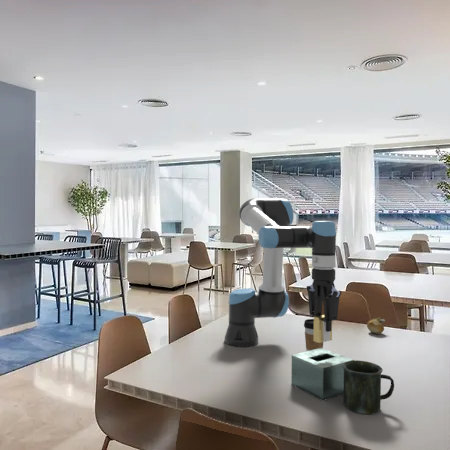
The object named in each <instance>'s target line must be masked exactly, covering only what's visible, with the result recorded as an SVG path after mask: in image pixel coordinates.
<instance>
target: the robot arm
mask: <svg viewBox="0 0 450 450" xmlns="http://www.w3.org/2000/svg"><path fill="white" fill-rule="evenodd" d="M238 217H239V219H240V221H241V222H242V223H243V224H244V225H245V226H246V227H250V228H251V229H252V230H253V231H255V233H256V234H257V235H258V238H257V239H258V243H259V246H260V247H261V248H263V263H262V264H263V266H262V284H260V285H259V287H258V291H256V290H255V289H254V288H249V287H248V288H246V287H245V288H238V289H234V290H232V291H231V292H230V293H229V295H228V326H227V328H226V332H225V335H224V343H225V344H227V345H229V346H233V347H238V348H239V347H240V348H241V347H243V348H244V347H252V346H255V345H257V344H258V343H259V336H258V331H257V328H256V325H255V323H256V322H255V321H256V320H255V319H263V318H264V319H265V318H278V317H284V316H285V315H286V314H287V312H288V309H289V306H290V305H289V304H290V300H289V294H288V292H287V291H285V287H284V286H283V285H282V283H283V266H284V264H283V262H284V261H283V260H284V249H311V266H312V267H313V268H311V280H312V284H311V285H307V286H305V287H306V291H307V295H308V296H307V297H308V308H309V309H308V310H309V316H312V317H313V318H314V316H320V315H324V317H325V320H323V343H326V342H330V341H331V340H330V331H331V330H332V331H333V321H337V320H338V314H339V313H338V312H339V305H340V297H341V295H342V291H341V290H338V289H336V286H335V280H336V269H335V268H336V262H337V261H336V252H337V251H336V249H337V244H336V242H337V231H336V222H335V221H333V220H332V221H331V220H315V221H312V225H305V226H299V225H298V226H291V225H292V224H293V221H294V209H293V205H292V203H291V202H290V200H288V199H287V198H278V197H277V198H275V197H274V198H272V197H271V198H270V197H269V198H268V197H265V198H264V197H263V198H262V197H254V198H251V199H248V200H246V201H245V202H243V204H241V206H240V208H239V211H238ZM322 312H324V313H322Z"/></svg>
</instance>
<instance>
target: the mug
mask: <svg viewBox="0 0 450 450" xmlns="http://www.w3.org/2000/svg"><path fill="white" fill-rule="evenodd" d="M342 366H343V368H344V393H343V394H342V395H343V401H342V402H343V405H344V407H345V408H346V409H347V410H348V411H350V412H353V413H358V414H361V415H373V413H374V414H377V413H379V412H380V410H381V401H382V400H387V399H389V398H390V397H391V396H392V395H393V392H394V389H395V383H394V382H395V381H394V379H393V378H392V377H391V376H390V375H387V374H382V373H383V371H384V370H383V368H382V366H380V365H378V364H377V363H374V362H370V361H366V360H356V359H355V360H354V359H353V361H347V362H345V363H343V365H342ZM382 379H386V380H389V381H390V387H389V389H388V391H387V392H385V394H382V393H381V390H382V382H381V381H382Z"/></svg>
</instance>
